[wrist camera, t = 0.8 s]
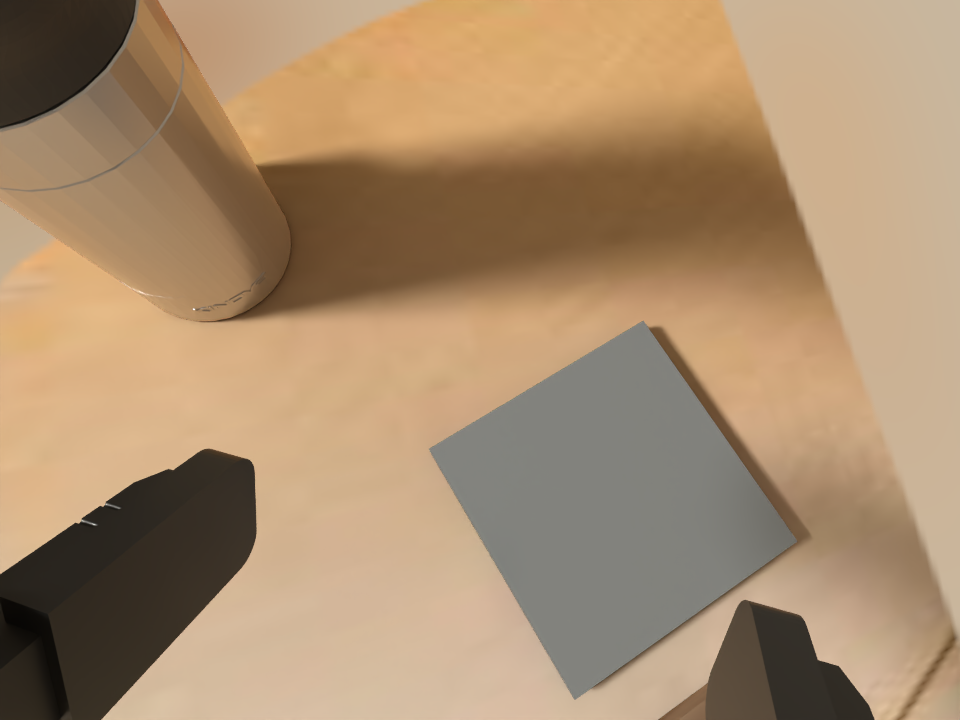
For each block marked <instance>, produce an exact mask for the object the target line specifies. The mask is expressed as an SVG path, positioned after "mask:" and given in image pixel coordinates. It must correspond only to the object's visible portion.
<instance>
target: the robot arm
mask: <svg viewBox="0 0 960 720" xmlns="http://www.w3.org/2000/svg"><path fill="white" fill-rule="evenodd" d="M0 201H1V202H3V203H4V204H6V205H7V206H9V207H11V208H12V209H13V210H15V211H17V212H18V213H19V214H21V215H22V216H24V217H25V218H27V219H28V220H30V221H31V222H33V223H34V224H36V225H37V226H39V227H40V228H42V229H43V230H45V231H46V232H47V233H49V234H51V235H52V236H53V237H55V238H56V239H58V240H59V241H61V242H62V243H64V244H65V245H67V246H68V247H70V248H71V249H73V250H74V251H76V252H77V253H79V254H80V255H82V256H83V257H85V258H86V259H88V260H89V261H91V262H92V263H94V264H95V265H97V266H98V267H100V268H101V269H102V270H104V271H105V272H107V273H108V274H110V275H111V276H113V277H114V278H116V279H117V280H119V281H120V282H121V283H123V284H124V285H126V286H127V287H129V288H130V289H132V290H133V291H135V292H136V293H138V294H139V295H141V296H142V297H144V298H145V299H147V300H148V301H150V302H151V303H153V304H154V305H156V306H157V307H159V308H160V309H162V310H163V311H165V312H167V313H169V314H172V315H174V316H176V317H179V318H183V319H188V320H193V321H216V320H221V319H226V318H231V317H233V316H236V315H238V314H241V313H243V312H246V311H248V310H249V309H251V308H252V307H254V306H255V305H257V304H258V303H260V302H261V301H262V300H263V299H264V298H265V297H266V296H267V295H269V294H270V293H271V292H272V291H273V290H274V288H275V287H276V285H277V284H278V282H279V281H280V279H281V278H282V276H283V274H284V272H285V269H286V267H287V264H288V262H289V256H290V250H291V237H290V230H289V226H288V223H287V220H286V217H285V216H284V214H283V212H282V210H281V209H280V207H279V205H278V204H277V202H276V200H275V198H274V197H273V195H272V193H271V191H270V190H269V188H268V186H267V185H266V183H265V181H264V179H263V177H262V175H261V174H260V172H259V170H258V168H257V167H256V165H255V163H254V162H253V160H252V158H251V157H250V155H249V153H248V151H247V150H246V148H245V146H244V145H243V143H242V141H241V140H240V138H239V136H238V134H237V133H236V131H235V129H234V128H233V126H232V124H231V123H230V121H229V119H228V117H227V116H226V114H225V112H224V111H223V109H222V107H221V106H220V104H219V102H218V100H217V99H216V97H215V95H214V94H213V92H212V90H211V89H210V87H209V85H208V83H207V82H206V80H205V78H204V77H203V75H202V73H201V72H200V70H199V68H198V67H197V65H196V63H195V62H194V60H193V58H192V56H191V55H190V53H189V51H188V49H187V48H186V46H185V44H184V43H183V41H182V39H181V38H180V36H179V34H178V32H177V31H176V29H175V28H174V26H173V24H172V23H171V21H170V20H169V18H168V16H167V15H166V13H165V11H164V9H163V8H162V6H161V4H160V3H159V1H158V0H0ZM255 539H256V499H255V471H254V466H253V464H252V462H251V461H250V460H248V459H245V458H241V457H238V456H234V455H230V454H227V453H223V452H220V451H216V450H213V449H204V450H202V451H200V452H198V453H197V454H195V455H194V456H193V457H191V458H190V459H188V460H187V461H186V462H184V463H183V464H181V465H180V466H179V467H177V468H176V469H174V470H170V469H168V470H165V471H162V472H160V473H157V474H155V475H152V476H150V477H147V478H145V479H142V480H139V481H137V482H134V483H133V484H131V485H130V486H128V487H127V488H125V489H124V490H123V491H121V492H120V493H118V494H117V495H115V496H114V497H112V498H111V499H109V500H108V501H107V502H106V504H105V506H104V507H101V506H99V507H98V508H96V509H95V510H93V511H92V512H91V513H89V514H88V515H86V516H85V517H83V518H82V520H81V522H80V523H79V524H78V523H74V524H73V525H72V526H70V527H69V528H67V529H66V530H64V531H63V532H61V533H60V534H58V535H57V536H56V537H54V538H53V539H51V540H50V541H48V542H47V543H45V544H44V545H42V546H41V547H40V548H38V549H37V550H35V551H34V552H32V553H31V554H29V555H28V556H26V557H25V558H23V559H22V560H21V561H19V562H18V563H16V564H15V565H13V566H12V567H10V568H9V569H7V570H6V571H5V572H3V573H2V574H0V720H101V719H102V718H103V717H104V716H105V715H106V714H107V713H108V712H109V711H110V709H111V708H112V707H113V706H114V705H115V704H116V703H117V702H118V701H119V700H120V699H121V698H122V697H123V695H124V694H125V693H126V692H127V691H128V690H129V689H130V688H131V687H132V686H133V685H134V684H135V682H136V681H137V680H138V679H139V678H140V677H141V676H142V675H143V674H144V673H145V672H146V671H147V669H148V668H149V667H150V666H151V665H152V664H153V663H154V662H155V661H156V660H157V659H158V658H159V657H160V655H161V654H162V653H163V652H164V651H165V650H166V649H167V648H168V647H169V646H170V645H171V644H172V642H173V641H174V640H175V639H176V638H177V637H178V636H179V635H180V634H181V633H182V632H183V631H184V630H185V628H186V627H187V626H188V625H189V624H190V623H191V622H192V621H193V620H194V619H195V618H196V617H197V615H198V614H199V613H200V612H201V611H202V610H203V609H204V608H205V607H206V606H207V605H208V604H209V602H210V601H211V600H212V599H213V598H214V597H215V596H216V595H217V594H218V593H219V592H220V591H221V590H222V588H223V587H224V586H225V585H226V584H227V583H228V582H229V581H230V580H231V579H232V578H233V577H234V575H235V574H236V573H237V572H238V571H239V570H240V569H241V568H242V567H243V565H244V564H245V562H246V561H247V559H248V557H249V555H250V553H251V551H252V549H253V546H254V543H255ZM705 716H706V720H874V717H873V715H872V712H871V710H870V707H869V705H868V704H867V702H866V701H865V700H864V698H863V697H862V696H861V695H860V693H859V692H858V691H857V689H856V688H855V687H854V685H853V684H852V683H851V682H850V680H849V679H848V678H847V676H846V675H845V674H844V672H843V671H842V670H841V668H840V667H839V666H836V665H833V664H829V663H826V662H822V661H819V660H818V659H817V656H816V653H815V650H814V647H813V644H812V641H811V638H810V635H809V632H808V629H807V626H806V623H805V621H804V620H803V618H802V617H801V616H800V615H797V614H794V613H790V612H787V611H783V610H779V609H776V608H772V607H769V606H765V605H762V604H758V603H754V602H751V601H747V600H743V601H741V603H740V604H739V605H738V607H737V609H736V611H735V614H734V616H733V619H732V621H731V624H730V626H729V628H728V631H727V633H726V636H725V638H724V641H723V643H722V646H721V648H720V651H719V653H718V656H717V658H716V661H715V663H714V665H713V668H712V671H711V673H710V677H709V681H708V686H707V693H706V705H705Z"/></svg>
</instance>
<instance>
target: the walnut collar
mask: <svg viewBox="0 0 960 720" xmlns="http://www.w3.org/2000/svg"><path fill="white" fill-rule="evenodd" d="M707 686H708V683H707V684H706V685H705V686H703V687H702V688H701V689H699V690H698V691H697V692H695V693H694V694H693V695H691V696H690V697H688V698H687V699H686V700H684V701H683V702H682V703H680V704H679V705H678V706H676V707H675V708H674V709H672V710H671V711H670V712H668V713H667V714H665V715H664V716H663V717H661V718H660V719H659V720H706V716H705V705H706V693H707Z"/></svg>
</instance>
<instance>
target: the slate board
mask: <svg viewBox="0 0 960 720" xmlns="http://www.w3.org/2000/svg"><path fill="white" fill-rule="evenodd" d="M429 451H430V453H431V454H432V456H433V458H434V459H435V461H436V463H437V465H438V466H439V468H440V470H441V472H442V473H443V475H444V477H445V478H446V480H447V482H448V484H449V485H450V487H451V489H452V490H453V492H454V494H455V496H456V497H457V499H458V501H459V502H460V504H461V506H462V508H463V509H464V511H465V513H466V514H467V516H468V518H469V520H470V521H471V523H472V525H473V527H474V528H475V530H476V532H477V533H478V535H479V537H480V539H481V540H482V542H483V544H484V545H485V547H486V549H487V551H488V552H489V554H490V556H491V557H492V559H493V561H494V563H495V564H496V566H497V568H498V569H499V571H500V573H501V575H502V576H503V578H504V580H505V582H506V583H507V585H508V587H509V588H510V590H511V592H512V594H513V595H514V597H515V599H516V600H517V602H518V604H519V606H520V607H521V609H522V611H523V612H524V614H525V616H526V618H527V619H528V621H529V623H530V624H531V626H532V628H533V630H534V631H535V633H536V635H537V636H538V638H539V640H540V642H541V643H542V645H543V647H544V649H545V650H546V652H547V654H548V655H549V657H550V659H551V661H552V662H553V664H554V666H555V667H556V669H557V671H558V673H559V674H560V676H561V678H562V679H563V681H564V683H565V685H566V686H567V688H568V690H569V691H570V693H571V695H572V696H573V698H574V700H575V699H577V698H578V697H580V696H581V695H582V694H584V693H585V692H587V691H588V690H589V689H591V688H592V687H594V686H595V685H596V684H598V683H599V682H601V681H602V680H604V679H605V678H606V677H608V676H609V675H611V674H612V673H613V672H615V671H616V670H618V669H619V668H620V667H622V666H623V665H625V664H626V663H627V662H629V661H630V660H632V659H633V658H634V657H636V656H637V655H639V654H640V653H641V652H643V651H644V650H646V649H647V648H648V647H650V646H651V645H653V644H654V643H655V642H657V641H658V640H660V639H661V638H663V637H664V636H665V635H667V634H668V633H670V632H671V631H672V630H674V629H675V628H677V627H678V626H679V625H681V624H682V623H684V622H685V621H686V620H688V619H689V618H691V617H692V616H693V615H695V614H696V613H698V612H699V611H700V610H702V609H703V608H705V607H706V606H707V605H709V604H710V603H712V602H713V601H715V600H716V599H717V598H719V597H720V596H722V595H723V594H724V593H726V592H727V591H729V590H730V589H731V588H733V587H734V586H736V585H737V584H738V583H740V582H741V581H743V580H744V579H745V578H747V577H748V576H750V575H751V574H752V573H754V572H755V571H757V570H758V569H759V568H761V567H762V566H764V565H765V564H766V563H768V562H769V561H771V560H772V559H774V558H775V557H776V556H778V555H779V554H781V553H782V552H783V551H785V550H786V549H788V548H789V547H790V546H792V545H793V544H795V543H796V542H797V540H796V538H795V537H794V536H793V534H792V533H791V531H790V530H789V528H788V527H787V526H786V524H785V523H784V521H783V520H782V518H781V517H780V516H779V514H778V513H777V511H776V510H775V508H774V507H773V506H772V504H771V503H770V501H769V500H768V498H767V497H766V496H765V494H764V493H763V491H762V490H761V488H760V487H759V486H758V484H757V483H756V481H755V480H754V478H753V477H752V476H751V474H750V473H749V471H748V470H747V468H746V467H745V465H744V464H743V463H742V461H741V460H740V458H739V457H738V455H737V454H736V453H735V451H734V450H733V448H732V447H731V445H730V444H729V443H728V441H727V440H726V438H725V437H724V435H723V434H722V433H721V431H720V430H719V428H718V427H717V425H716V424H715V423H714V421H713V420H712V418H711V417H710V415H709V414H708V413H707V411H706V410H705V408H704V407H703V405H702V404H701V403H700V401H699V400H698V398H697V397H696V395H695V394H694V393H693V391H692V390H691V388H690V387H689V385H688V384H687V383H686V381H685V380H684V378H683V377H682V375H681V374H680V373H679V371H678V370H677V368H676V367H675V365H674V364H673V363H672V361H671V360H670V358H669V357H668V355H667V354H666V353H665V351H664V350H663V348H662V347H661V345H660V344H659V343H658V341H657V340H656V338H655V337H654V335H653V334H652V333H651V331H650V330H649V328H648V327H647V325H646V324H645V322H644V321H642V322H640V323H639V324H637V325H635V326H634V327H632V328H630V329H629V330H627V331H625V332H624V333H622V334H620V335H619V336H617V337H615V338H614V339H612V340H610V341H608V342H607V343H605V344H603V345H602V346H600V347H598V348H597V349H595V350H593V351H592V352H590V353H588V354H587V355H585V356H583V357H582V358H580V359H578V360H577V361H575V362H573V363H572V364H570V365H568V366H567V367H565V368H563V369H562V370H560V371H558V372H557V373H555V374H553V375H552V376H550V377H548V378H547V379H545V380H543V381H542V382H540V383H538V384H537V385H535V386H533V387H532V388H530V389H528V390H527V391H525V392H523V393H522V394H520V395H518V396H517V397H515V398H513V399H512V400H510V401H508V402H507V403H505V404H503V405H502V406H500V407H498V408H497V409H495V410H493V411H492V412H490V413H488V414H487V415H485V416H483V417H482V418H480V419H478V420H477V421H475V422H473V423H472V424H470V425H468V426H467V427H465V428H463V429H462V430H460V431H458V432H456V433H455V434H453V435H451V436H450V437H448V438H446V439H445V440H443V441H441V442H440V443H438V444H436V445H435V446H433V447H431V448H430V449H429Z"/></svg>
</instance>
